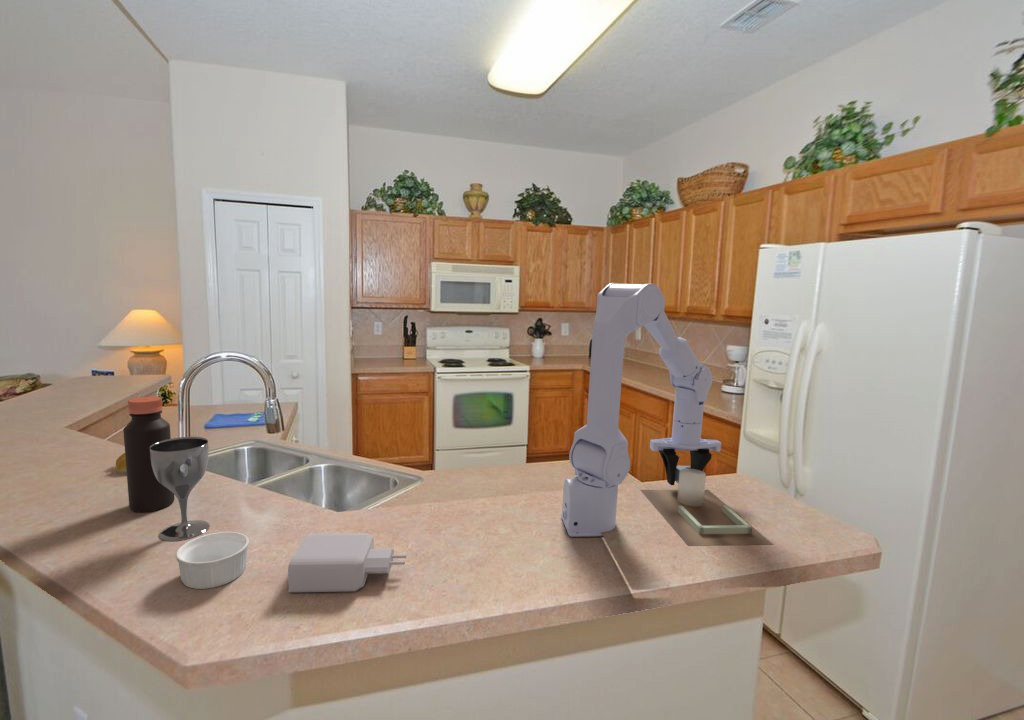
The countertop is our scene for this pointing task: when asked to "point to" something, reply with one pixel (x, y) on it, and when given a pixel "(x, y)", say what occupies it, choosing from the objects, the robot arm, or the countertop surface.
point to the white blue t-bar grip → (690, 486)
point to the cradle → (740, 528)
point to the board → (701, 520)
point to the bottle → (145, 454)
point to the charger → (337, 562)
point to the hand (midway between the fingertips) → (682, 483)
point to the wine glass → (180, 479)
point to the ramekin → (212, 559)
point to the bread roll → (121, 464)
